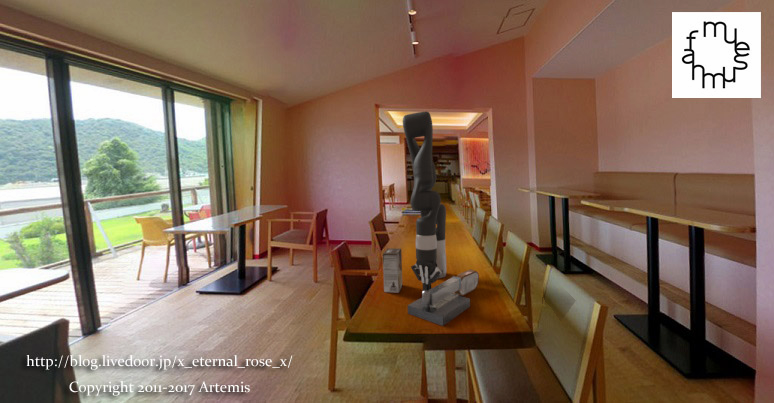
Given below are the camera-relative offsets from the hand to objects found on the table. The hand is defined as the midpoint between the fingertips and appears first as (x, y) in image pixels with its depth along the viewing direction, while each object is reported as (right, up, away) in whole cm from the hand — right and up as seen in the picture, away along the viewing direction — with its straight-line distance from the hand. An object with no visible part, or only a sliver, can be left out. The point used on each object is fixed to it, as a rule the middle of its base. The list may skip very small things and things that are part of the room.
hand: (427, 292), depth 118 cm
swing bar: (+6, 0, -3) cm, 6 cm away
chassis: (+4, -5, -5) cm, 8 cm away
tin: (+17, -3, +10) cm, 20 cm away
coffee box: (-12, -3, +17) cm, 21 cm away
